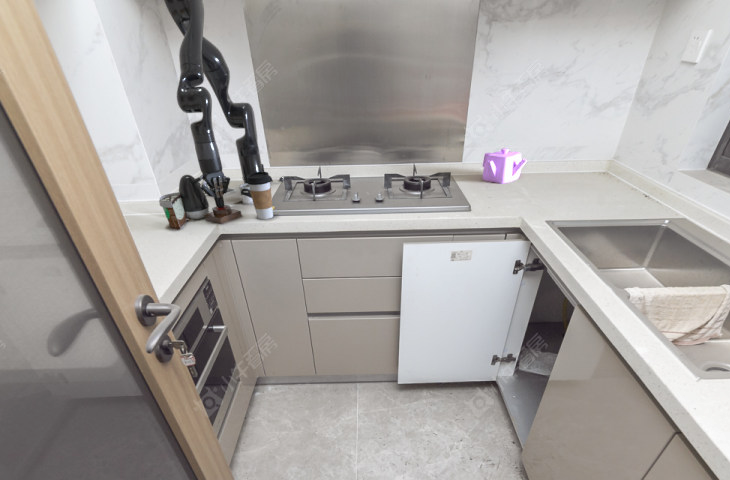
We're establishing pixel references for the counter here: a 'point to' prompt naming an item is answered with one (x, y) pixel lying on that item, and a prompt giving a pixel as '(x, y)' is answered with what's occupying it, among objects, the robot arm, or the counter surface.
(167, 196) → the food container
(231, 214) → the button block
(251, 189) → the coffee cup
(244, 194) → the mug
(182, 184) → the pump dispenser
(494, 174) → the teakettle
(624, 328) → the counter surface
